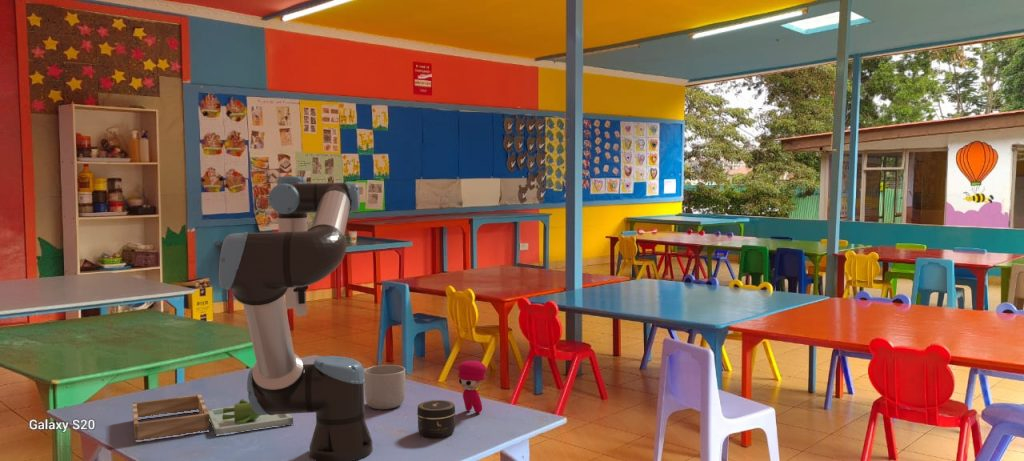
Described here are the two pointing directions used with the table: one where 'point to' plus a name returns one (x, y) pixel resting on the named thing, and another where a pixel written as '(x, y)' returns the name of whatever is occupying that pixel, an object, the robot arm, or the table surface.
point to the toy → (471, 383)
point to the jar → (436, 418)
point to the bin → (172, 424)
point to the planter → (384, 386)
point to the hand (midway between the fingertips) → (295, 312)
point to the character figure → (241, 412)
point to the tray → (232, 426)
